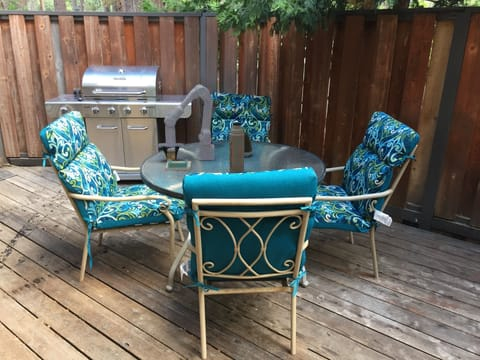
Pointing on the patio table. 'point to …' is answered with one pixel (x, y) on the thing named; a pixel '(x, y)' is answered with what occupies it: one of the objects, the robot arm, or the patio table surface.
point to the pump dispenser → (247, 145)
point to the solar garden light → (212, 115)
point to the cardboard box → (171, 155)
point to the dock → (178, 165)
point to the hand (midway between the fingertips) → (171, 158)
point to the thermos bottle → (236, 148)
